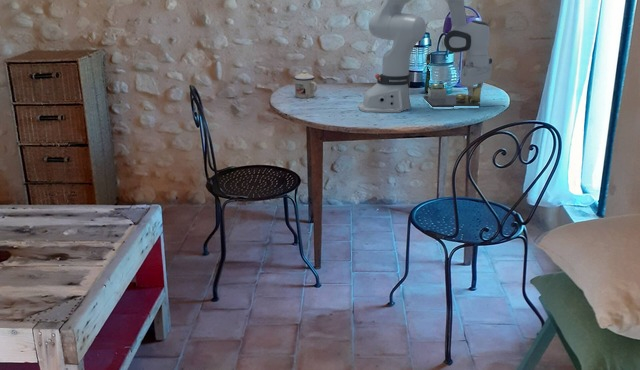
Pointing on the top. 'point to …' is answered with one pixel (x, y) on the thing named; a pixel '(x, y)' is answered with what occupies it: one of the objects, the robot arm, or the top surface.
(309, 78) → the teacup with lid
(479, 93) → the brown boot
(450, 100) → the tribrach plate
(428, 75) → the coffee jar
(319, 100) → the top surface
